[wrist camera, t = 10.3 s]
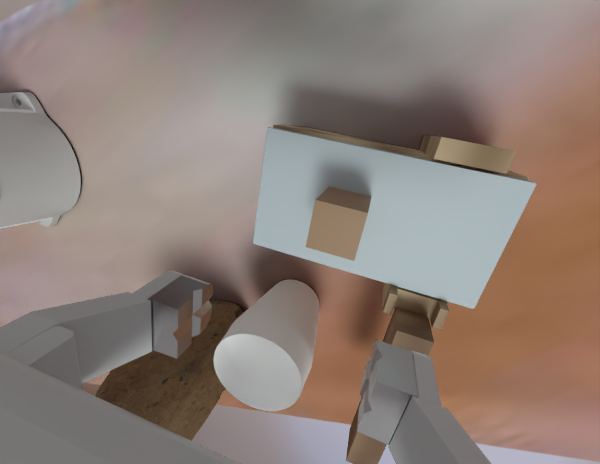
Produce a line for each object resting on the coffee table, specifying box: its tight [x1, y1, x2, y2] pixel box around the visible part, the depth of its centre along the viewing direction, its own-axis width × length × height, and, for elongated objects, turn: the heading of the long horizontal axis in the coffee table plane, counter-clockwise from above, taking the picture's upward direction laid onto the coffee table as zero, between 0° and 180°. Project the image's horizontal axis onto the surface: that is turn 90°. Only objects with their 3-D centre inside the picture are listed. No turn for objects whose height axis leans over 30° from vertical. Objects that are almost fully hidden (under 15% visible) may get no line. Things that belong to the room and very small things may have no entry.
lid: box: [253, 127, 536, 309], centre depth 20 cm, size 18×10×6 cm, turn 79°
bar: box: [346, 307, 434, 464], centre depth 24 cm, size 2×15×3 cm, turn 169°
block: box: [96, 300, 243, 441], centre depth 32 cm, size 11×8×20 cm
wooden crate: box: [273, 125, 529, 330], centre depth 25 cm, size 18×13×10 cm
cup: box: [214, 280, 319, 411], centre depth 31 cm, size 9×9×12 cm
